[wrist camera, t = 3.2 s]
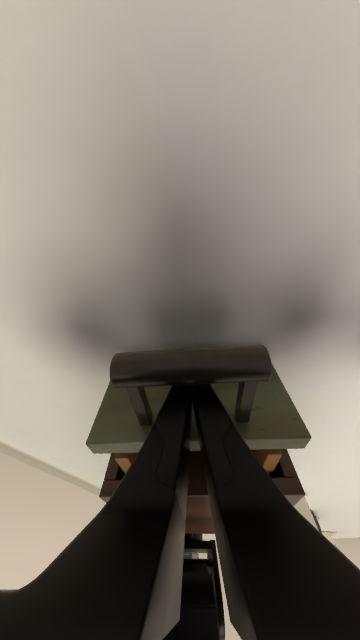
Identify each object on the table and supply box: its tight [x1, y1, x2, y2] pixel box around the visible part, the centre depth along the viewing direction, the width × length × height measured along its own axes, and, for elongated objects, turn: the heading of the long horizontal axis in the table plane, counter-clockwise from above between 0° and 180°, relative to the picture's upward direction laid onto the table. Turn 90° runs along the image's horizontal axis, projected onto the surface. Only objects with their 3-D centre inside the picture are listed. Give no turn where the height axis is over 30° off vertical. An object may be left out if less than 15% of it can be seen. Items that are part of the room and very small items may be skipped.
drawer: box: [86, 345, 311, 479], centre depth 13 cm, size 16×11×5 cm
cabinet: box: [99, 449, 305, 534], centre depth 17 cm, size 13×12×7 cm
